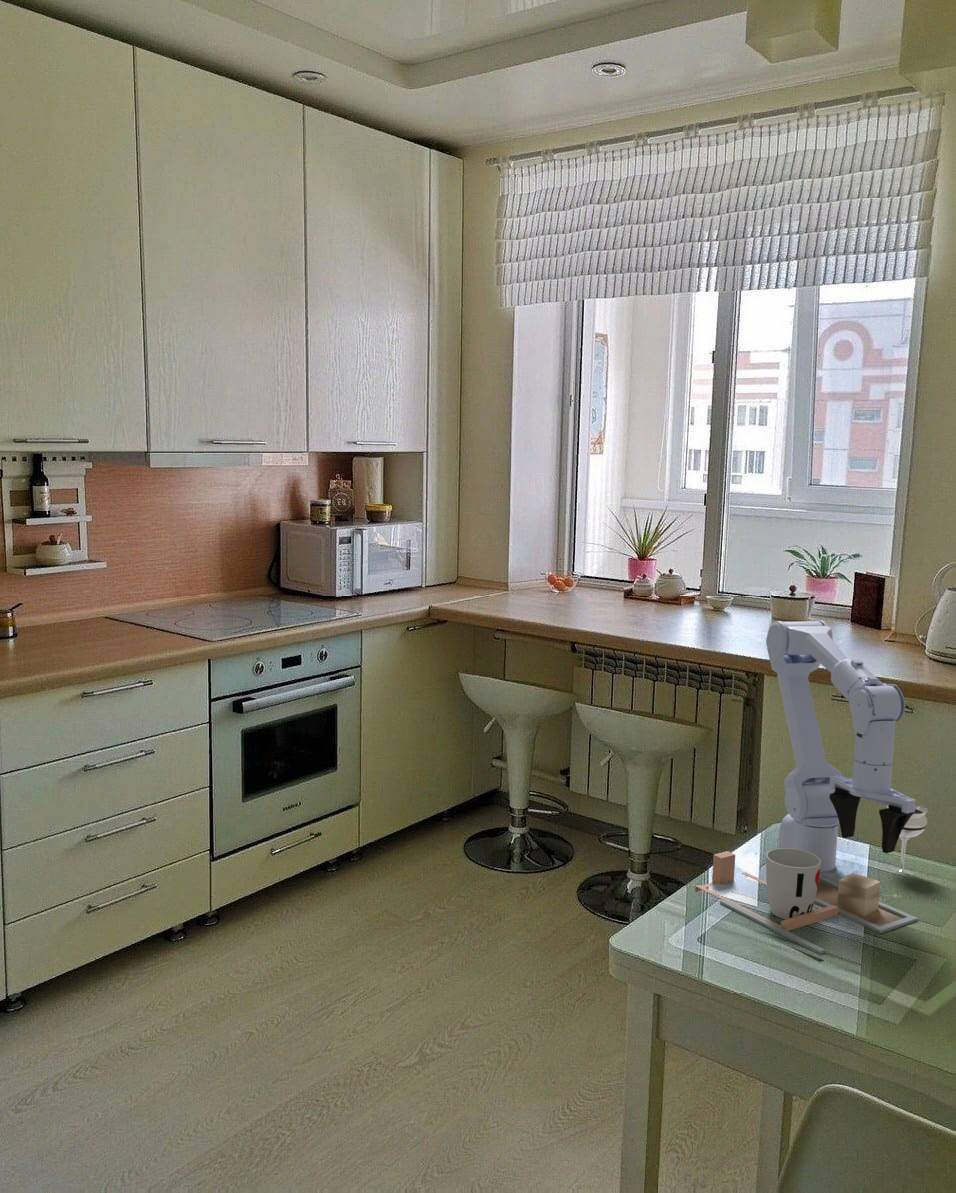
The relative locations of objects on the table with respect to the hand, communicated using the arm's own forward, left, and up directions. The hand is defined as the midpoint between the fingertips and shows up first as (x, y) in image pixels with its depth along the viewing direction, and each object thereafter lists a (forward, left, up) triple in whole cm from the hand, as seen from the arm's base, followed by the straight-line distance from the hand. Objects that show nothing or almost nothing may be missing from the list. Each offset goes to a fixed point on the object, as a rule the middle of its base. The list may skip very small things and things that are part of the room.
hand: (867, 844), depth 164 cm
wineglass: (-5, +17, -11) cm, 21 cm away
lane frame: (-1, -10, -10) cm, 15 cm away
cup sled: (-8, -14, -10) cm, 20 cm away
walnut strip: (-1, -4, -10) cm, 11 cm away
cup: (-3, -14, -11) cm, 18 cm away
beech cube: (+2, -4, -9) cm, 10 cm away
